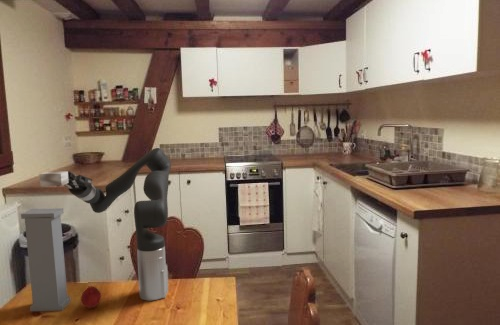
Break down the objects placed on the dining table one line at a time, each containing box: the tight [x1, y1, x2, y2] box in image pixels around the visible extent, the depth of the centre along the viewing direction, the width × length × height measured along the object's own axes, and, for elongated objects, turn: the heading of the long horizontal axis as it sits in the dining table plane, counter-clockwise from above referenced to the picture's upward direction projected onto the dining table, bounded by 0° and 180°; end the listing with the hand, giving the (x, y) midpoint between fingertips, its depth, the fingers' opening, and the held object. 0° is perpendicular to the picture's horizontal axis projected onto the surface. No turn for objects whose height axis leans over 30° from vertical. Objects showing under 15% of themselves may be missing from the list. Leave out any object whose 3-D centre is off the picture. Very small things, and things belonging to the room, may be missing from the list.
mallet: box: [38, 170, 70, 187], centre depth 127 cm, size 7×14×4 cm, turn 2°
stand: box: [20, 208, 72, 312], centre depth 117 cm, size 10×6×32 cm, turn 92°
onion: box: [80, 283, 102, 309], centre depth 118 cm, size 6×6×8 cm
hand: (63, 174), depth 129 cm, fingers closed on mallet, 2 cm apart
